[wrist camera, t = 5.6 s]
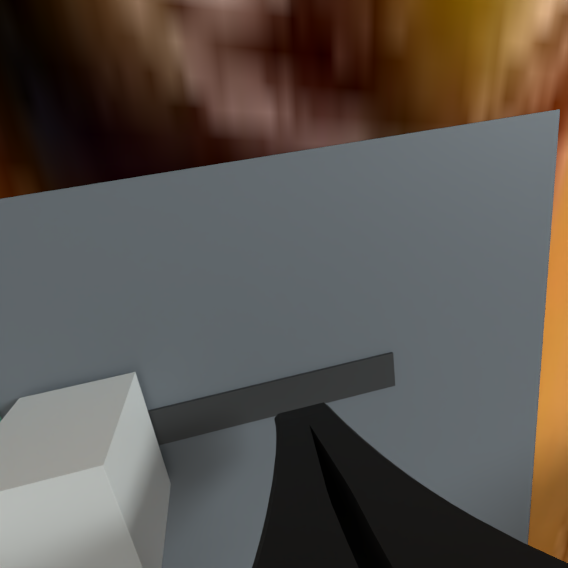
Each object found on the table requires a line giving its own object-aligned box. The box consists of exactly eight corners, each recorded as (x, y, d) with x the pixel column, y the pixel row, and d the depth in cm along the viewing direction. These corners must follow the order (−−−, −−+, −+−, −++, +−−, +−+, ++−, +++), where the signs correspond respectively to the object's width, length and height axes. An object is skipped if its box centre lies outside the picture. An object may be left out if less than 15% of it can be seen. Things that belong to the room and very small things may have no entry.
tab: (135, 371, 11) (103, 465, 7) (170, 483, 12) (156, 606, 9) (19, 397, 10) (-70, 509, 7) (68, 511, 11) (13, 650, 8)
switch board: (531, 113, 12) (562, 108, 11) (505, 623, 20) (521, 649, 19) (-212, 232, 9) (-264, 241, 8) (96, 769, 17) (89, 808, 16)
